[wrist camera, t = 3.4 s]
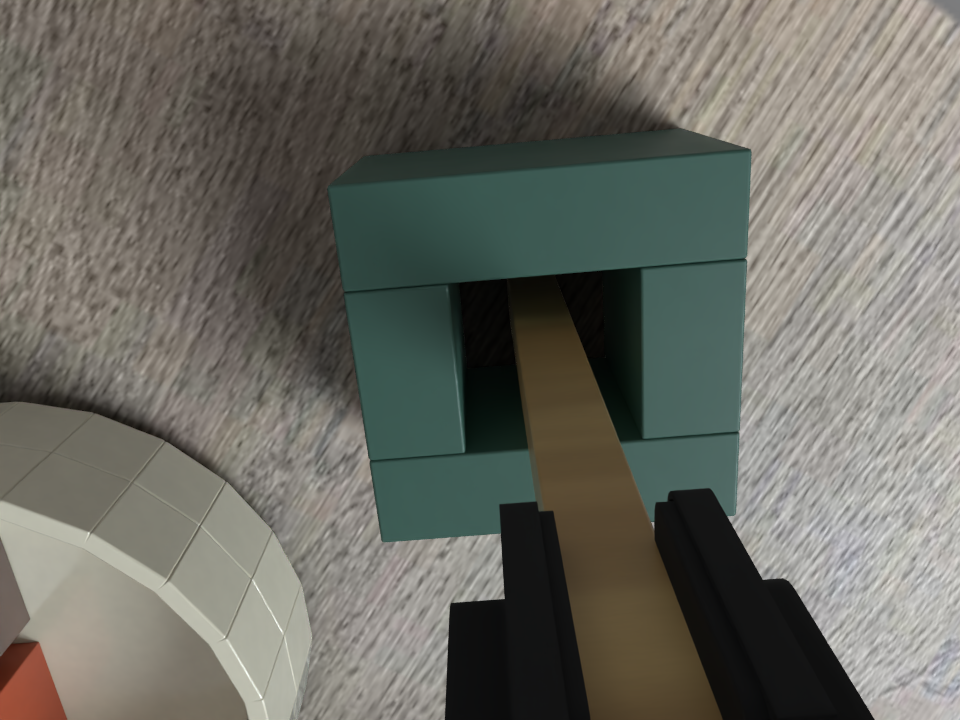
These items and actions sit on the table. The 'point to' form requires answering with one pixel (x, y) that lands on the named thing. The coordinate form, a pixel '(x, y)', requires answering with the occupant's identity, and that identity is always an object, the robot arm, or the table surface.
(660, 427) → the holder
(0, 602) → the block
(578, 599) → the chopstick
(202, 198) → the table surface
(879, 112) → the table surface
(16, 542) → the bowl
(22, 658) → the block
